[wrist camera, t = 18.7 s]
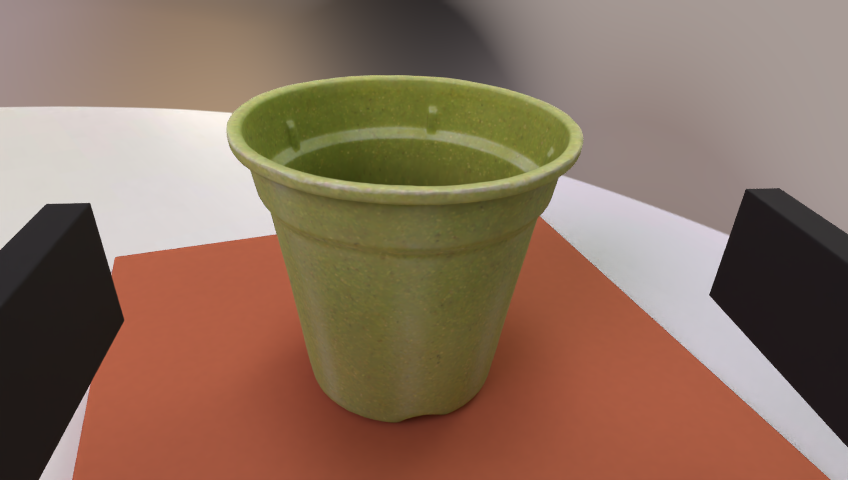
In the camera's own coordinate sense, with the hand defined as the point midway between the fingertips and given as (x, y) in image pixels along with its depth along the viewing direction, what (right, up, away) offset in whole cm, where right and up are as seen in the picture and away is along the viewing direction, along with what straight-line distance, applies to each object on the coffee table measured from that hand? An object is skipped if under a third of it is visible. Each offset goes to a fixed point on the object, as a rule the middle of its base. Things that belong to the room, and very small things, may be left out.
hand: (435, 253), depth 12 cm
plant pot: (-1, -4, +8) cm, 9 cm away
